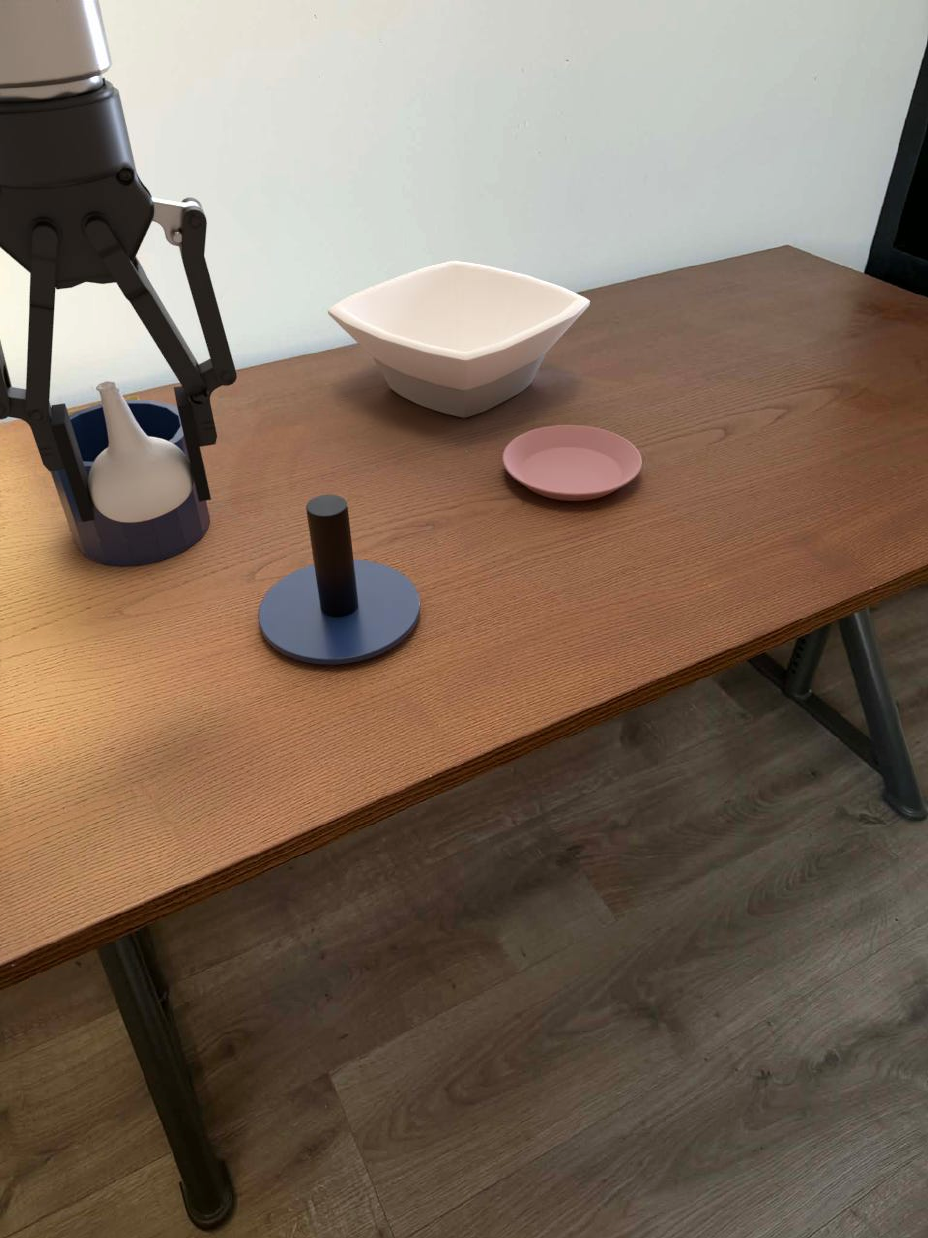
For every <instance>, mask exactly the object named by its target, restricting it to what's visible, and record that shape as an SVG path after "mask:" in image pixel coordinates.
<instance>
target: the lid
mask: <svg viewBox="0 0 928 1238" xmlns="http://www.w3.org/2000/svg"><path fill="white" fill-rule="evenodd" d="M305 511H306V517H307V524H308V525H307V526H308V532H309V539H310V545H311V553H312V559H313V564H310V565H306V566H304V567H301V568H299V569H296V570H294V571H293V572H291V573H289V574H287V575H286V576H284V577H283V578H281V579H279V580H278V581H277V582H275V584H274V585H272V586H271V588H269V589H268V591H267V592H266V593H265V595H264V596H263V598H262V600H261V602H260V604H259V608H258V613H257V619H258V625H259V629H260V632H261V634H262V636H263V637H264V639H265V640H266V642H267V643H268V644H269V645H270V646H271V648H274V649H275V650H276V651H278V653H280V654H283V655H284V656H286V657H288V658H290V659H293V660H296V661H300V662H304V663H307V664H308V663H309V664H313V665H325V666H326V665H343V664H345V665H347V664H352V663H357V662H362V661H366V660H368V659H372V658H374V657H377V656H380V655H382V654H384V653H386V652H388V651H390V650H392V649H393V648H394V647H396V646H398V645H399V644H400V643H402V642H403V641H404V640H405V639H406V638H407V637H408V636H409V635H410V634H411V632H412V631H413V630H414V628H415V627H416V625H417V622H418V621H419V616H420V614H421V599H420V595H419V593H418V589H417V588H416V586H415V585H414V583H413V582H412V581H411V580H410V579H409V577H407V576H406V575H404V573H402V572H401V571H398V570H397V569H395V568H393V567H391V566H388V565H386V564H383V563H380V562H375V561H372V560H364V559H354V552H353V551H354V550H353V543H352V542H353V541H352V533H351V525H350V516H349V515H350V514H349V505H348V501H347V500H346V499H345V498H344V497H343V496H341V495H336V494H322V495H318V496H314V497H313V498H311V499H310V500H308V502H307V503H306V505H305Z"/></svg>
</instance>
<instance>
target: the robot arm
mask: <svg viewBox="0 0 928 1238" xmlns="http://www.w3.org/2000/svg"><path fill="white" fill-rule="evenodd" d="M100 5H101V4H100V1H99V0H0V249H1V250H2V251H4V253H6V254H7V255H9V257H10V258H12V259H13V260H14V261H15V262H16V263H18V264H19V265H20V266H21V267H22V268H23V269H25V270H26V271H27V272H29V274H30V275H29V276H30V277H29V278H30V279H29V296H28V297H29V299H28V300H29V301H28V306H29V307H28V330H27V352H26V353H27V355H26V377H25V378H26V379H25V388H21V387H14V386H12V382H11V378H10V373H9V370H8V365H7V361H6V357H5V353H4V350H3V345H2V342H1V340H0V420H5V419H7V418H13V419H19V420H21V421H24V422H25V423H26V424H28V426H29V427H30V429H31V433H32V436H33V439H34V441H35V444H36V445H35V446H36V447H37V450H38V453H39V456H40V460H41V462H42V465H43V466H44V468H46V469H47V470H48V472H51V471H55V470H62V469H65V471H66V474H67V477H68V480H69V484H70V487H71V490H72V493H73V496H74V499H75V502H76V505H77V508H78V511H79V514H80V517H81V520H82V522H86V521H92V520H95V505H94V503H93V501H92V499H91V497H90V494H89V489H88V476H87V472H86V469H85V466H84V463H83V460H82V456H81V453H80V450H79V447H78V443H77V440H76V437H75V434H74V431H73V427H72V424H71V421H70V418H69V414H68V411H69V410H68V409H67V408H68V407H67V406H66V403H58V404H51V402H50V398H51V397H50V396H51V377H52V362H53V361H52V360H53V342H54V341H53V340H54V324H55V323H54V322H55V305H56V304H55V303H56V290H65V289H72V288H75V287H77V286H80V285H82V284H85V283H90V284H91V283H92V284H98V285H99V284H100V285H106V284H113V283H114V284H115V283H116V284H117V287H118V288H119V290H120V291H121V293H122V294H123V296H124V297H125V299H126V300H127V301H128V302H129V303H130V305H131V307H132V308H133V309H134V311H135V313H136V315H137V317H139V319H140V321H141V322H142V324H143V326H144V327H145V329H146V330H147V333H148V334H149V335H150V337H151V338H152V340H153V342H154V344H155V345H156V347H157V348H158V350H159V352H160V353H161V354H162V356H163V358H164V360H165V361H166V363H167V364H168V366H169V368H170V369H171V370H172V372H173V374H174V376H175V377H176V379H177V381H178V382H179V384H180V385H179V386H174V387H173V392H174V396H175V403H176V407H177V408H178V412H179V417H180V421H181V425H182V430H183V434H184V438H185V443H186V447H187V451H188V456H189V460H190V465H191V469H192V473H193V478H194V482H195V486H196V491H197V495H198V499H199V502H200V501H206V502H207V501H211V500H212V497H211V492H210V487H209V483H208V478H207V473H206V468H205V464H204V459H203V456H202V451H201V448H202V447H208V446H215V445H216V444H217V439H218V432H217V429H216V423H215V418H214V413H213V409H212V404H211V395H212V393H213V392H214V391H215V390H216V389H219V388H220V387H223V386H224V387H227V386H229V387H230V386H231V385H233V384H234V383H235V382H236V381H237V379H238V373H237V370H236V367H235V362H234V360H233V355H232V351H231V348H230V344H229V340H228V337H227V333H226V330H225V327H224V322H223V319H222V316H221V312H220V309H219V304H218V301H217V297H216V294H215V290H214V286H213V282H212V278H211V275H210V272H209V268H208V264H207V261H206V257H205V252H206V241H207V240H206V239H207V227H208V226H207V225H208V222H207V221H208V220H207V216H206V214H205V212H204V208H203V206H202V204H201V202H200V201H199V200H198V199H197V198H194V197H193V196H192V197H191V196H190V197H185V198H183V199H182V200H181V201H178V200H171V199H166V198H165V199H164V198H159V197H153V196H152V194H151V192H150V191H149V189H148V187H147V186H145V183H143V182H142V180H141V178H140V176H139V174H138V171H137V167H136V162H135V159H134V155H133V154H134V153H133V149H132V145H131V140H130V136H129V131H128V127H127V122H126V118H125V117H126V116H125V113H124V109H123V104H122V99H121V95H120V91H119V89H118V88H117V87H115V86H114V84H113V82H111V81H109V80H107V79H106V78H105V77H103V74H105V73H107V72H108V71H109V70H110V68H111V67H112V65H113V61H112V56H111V52H110V47H109V42H108V39H107V33H106V29H105V24H104V19H103V14H102V11H101V6H100ZM152 222H154V223H156V224H158V225H160V227H162V229H163V232H164V237H165V239H166V241H167V242H168V243H169V244H170V245H172V246H175V247H178V249H179V253H180V258H181V262H182V266H183V268H184V269H183V270H184V272H185V276H186V279H187V283H188V285H189V290H190V293H191V297H192V300H193V303H194V307H195V310H196V314H197V318H198V320H199V324H200V327H201V331H202V335H203V338H204V341H205V345H206V348H207V352H208V356H209V358H208V359H207V360H204V361H202V362H201V363H199V362H198V360H197V358H196V356H195V355H194V354H193V352H192V350H191V348H190V346H189V344H188V343H187V341H186V340H185V339H184V337H183V335H182V333H181V331H180V330H179V328H178V326H177V324H176V323H175V322H174V319H173V318H172V316H171V315H170V313H169V311H168V310H167V308H166V306H165V304H164V303H163V301H162V300H161V298H160V297H159V294H158V293H157V291H156V290H155V288H154V286H153V284H152V283H151V281H150V279H149V278H148V275H147V274H146V272H145V269H144V267H143V266H142V264H141V262H140V260H139V259H138V256H137V255H138V252H139V251H140V248H141V246H142V244H143V242H144V239H145V237H146V235H147V234H148V231H149V229H150V227H151V224H152Z"/></svg>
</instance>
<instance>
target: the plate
mask: <svg viewBox="0 0 928 1238" xmlns="http://www.w3.org/2000/svg"><path fill="white" fill-rule="evenodd" d="M501 460H502V464H503V466H504V469H505V470H506V471H507V473H508V474H509V475H510V477H512V479H514V480H516V481H517V482H519V483H520V484H522V485H523V486H524V487H525V488H527V489H528V490H529V491H531V492H532V493H535V494H536V495H540V496H542V497H545V498H549V499H552V500H557V501H565V502H582V501H583V502H584V501H590V500H591V501H592V500H597V499H599V498H603V497H605V496H608V495H610V494H612V493H613V492H615V491H617V490H619V489H620V488H622V487H624V486H626V485H628V484H629V483H630V482H632V481H633V480H635V478H636V477H637V476H638V475H639V474H640V471H641V469H642V465H643V461H642V460H643V459H642V455H641V453H640V451H639V450H638V448H637V447H636V446H635V445H634V444H633V443H632V442H630V441H629V440H627V439H626V438H624V437H623V436H621V435H619V434H616V433H615V432H612V431H609V430H606V429H602V428H598V427H594V426H588V425H580V424H579V425H578V424H558V425H549V426H542V427H538V428H534V429H532V430H529V431H526V432H524V433H521V434H520V435H518V436H516V437H515V438H514V439H512V440H510V442H509V443H508V444H507V445H506V447H505V448H504V450H503V453H502V459H501Z"/></svg>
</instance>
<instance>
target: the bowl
mask: <svg viewBox="0 0 928 1238" xmlns="http://www.w3.org/2000/svg"><path fill="white" fill-rule="evenodd" d="M590 303H591V301H590V300H589V298H586V297H585V296H583V295H581V294H578V293H576V292H574V291H572V290H569V289H567V288H565V287H563V286H560V285H557V284H554V283H551V282H549V281H545V280H542V279H539V278H536V277H534V276H531V275H528V274H523V273H519V272H514V271H511V270H507V269H503V268H499V267H494V266H489V265H485V264H478V263H472V262H468V261H467V262H465V261H460V260H451V261H446V262H441V263H436V264H433V265H429V266H424V267H421V268H419V269H416V270H413V271H410V272H407V273H405V274H402V275H399V276H396V277H394V278H390V279H388V280H386V281H383V282H381V283H378V284H375V285H372V286H370V287H368V288H365V289H363V290H362V289H361V290H360V291H357V292H355V293H353V294H351V295H349V296H347V297H345V298H343V299H342V300H339V302H336V303H335V304H334V305H332V306H330V307H329V308H328V309H327V314H328V316H329V317H331V319H333V320H334V321H335V322H336V324H338V325H339V326H340V327H341V328H342V329H343V331H345V333H347V334H348V335H349V336H350V337H351V338H352V339H353V340H354V341H355V342H356V343H357V344H358V345H359V346H360V347H361V348H362V349H363V350H364V351H365V352H366V353H367V354H368V355H370V356H371V357H372V358H373V360H374V362H375V364H376V365H377V368H378V369H379V371H380V373H381V375H382V376H383V379H384V380H385V382H386V384H387V386H388V387H389V389H390V390H392V391H393V392H394V393H396V394H398V395H399V396H401V397H402V398H404V399H407V400H409V401H411V402H413V403H415V404H416V405H419V406H421V407H424V408H426V409H430V410H432V411H436V412H439V413H442V414H443V415H444V414H445V415H449V416H453V417H458V418H463V419H464V418H465V419H466V418H469V417H472V416H475V415H479V414H481V413H485V412H487V411H488V410H491V409H492V408H494V407H496V406H498V405H500V404H502V403H504V402H506V401H507V400H510V399H512V398H513V397H515V396H517V395H518V394H521V393H523V392H524V391H525V390H526V389H527V388H528V387H529V386H530V385H531V384H532V383H533V380H534V379H535V377H536V375H537V373H538V370H539V369H540V368H541V367H540V366H541V364H542V363H543V360H544V358H545V357H546V354H547V352H548V351H549V350H550V349H551V348H552V347H553V346H554V345H555V344H556V343H557V342H558V341H559V340H560V338H562V336H563V335H564V334H565V333H566V332H567V331H568V330H569V329H570V327H571V326H572V325H573V324H574V323H575V322H576V321H577V320H578V319H579V318H580V316H581V315H582V314H583V313H584V312H585V311H586V310H587V309H588V308H589V306H590Z"/></svg>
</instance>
